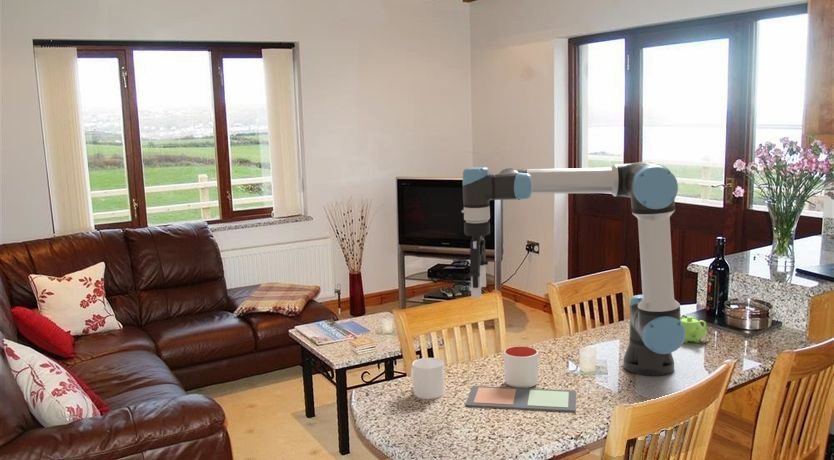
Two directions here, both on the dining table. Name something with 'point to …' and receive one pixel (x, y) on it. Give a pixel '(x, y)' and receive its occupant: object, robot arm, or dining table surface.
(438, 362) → the mug
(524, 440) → the dining table surface
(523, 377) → the cup
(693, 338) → the teapot
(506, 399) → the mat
